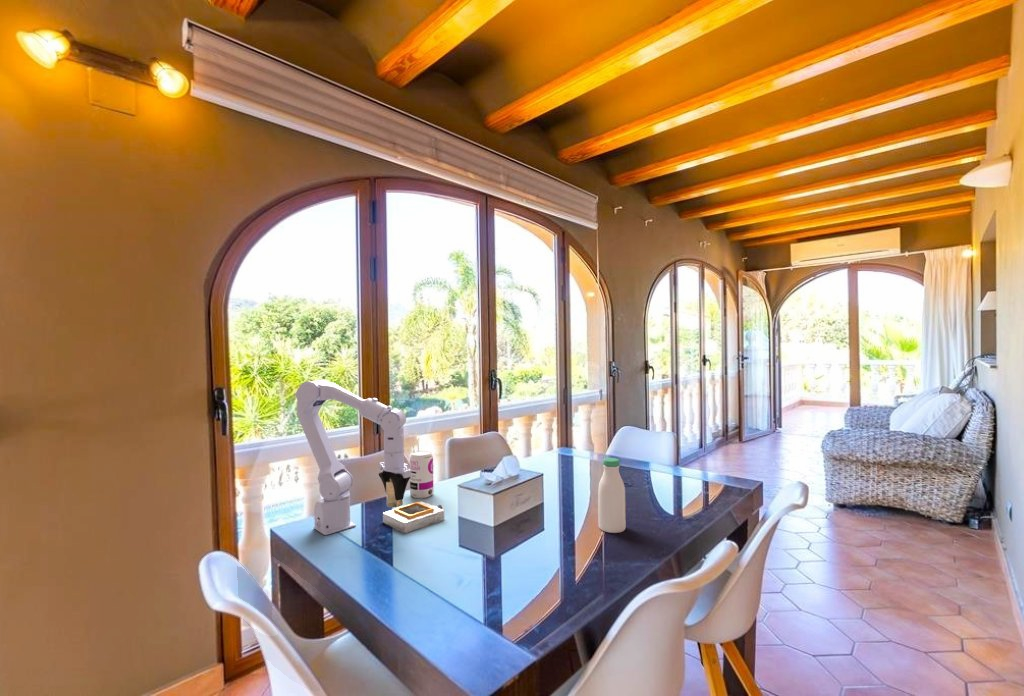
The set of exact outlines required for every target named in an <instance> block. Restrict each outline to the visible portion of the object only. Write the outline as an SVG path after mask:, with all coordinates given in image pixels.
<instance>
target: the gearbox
mask: <svg viewBox="0 0 1024 696" xmlns="http://www.w3.org/2000/svg"><path fill="white" fill-rule="evenodd" d="M442 521H445V509H443V506H442V505H441V504H438V505H433V504H430V503H427V502H424V501H416V502H413V503H410V504H406V505H401V506H399V507H395V508H393V509H391V510H387V511H385V512H384V511H383V512H382V523H384V524H385V525H387V526H389V527H391V528H393V529H395V530H396V531H400V532H401V533H402V534H408V533H410V532H413V531H416V530H419V529H422V528H425V527H428V526H430V525H433V524H436V523H440V522H442Z"/></svg>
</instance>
